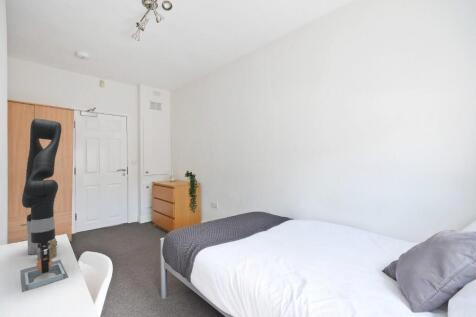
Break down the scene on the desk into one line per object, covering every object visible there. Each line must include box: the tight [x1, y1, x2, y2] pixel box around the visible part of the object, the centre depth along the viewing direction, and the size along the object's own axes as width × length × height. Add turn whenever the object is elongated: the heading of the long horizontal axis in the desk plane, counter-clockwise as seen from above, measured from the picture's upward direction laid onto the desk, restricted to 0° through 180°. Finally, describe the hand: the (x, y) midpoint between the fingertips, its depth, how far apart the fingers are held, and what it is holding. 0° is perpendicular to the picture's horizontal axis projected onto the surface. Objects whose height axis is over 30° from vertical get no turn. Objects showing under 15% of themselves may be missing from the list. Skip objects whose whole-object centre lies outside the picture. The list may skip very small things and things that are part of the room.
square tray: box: [25, 263, 66, 292], centre depth 94 cm, size 14×12×2 cm
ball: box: [35, 258, 53, 271], centre depth 94 cm, size 5×5×5 cm
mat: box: [19, 259, 69, 293], centre depth 98 cm, size 24×14×1 cm, turn 45°
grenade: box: [36, 237, 58, 262], centre depth 114 cm, size 8×7×15 cm
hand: (44, 269), depth 94 cm, fingers closed on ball, 5 cm apart
